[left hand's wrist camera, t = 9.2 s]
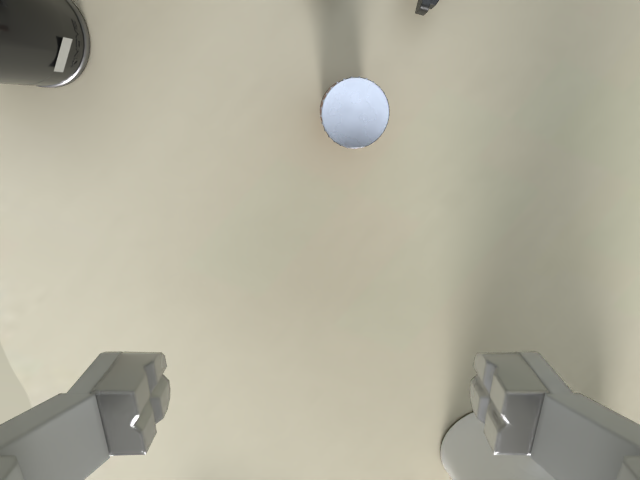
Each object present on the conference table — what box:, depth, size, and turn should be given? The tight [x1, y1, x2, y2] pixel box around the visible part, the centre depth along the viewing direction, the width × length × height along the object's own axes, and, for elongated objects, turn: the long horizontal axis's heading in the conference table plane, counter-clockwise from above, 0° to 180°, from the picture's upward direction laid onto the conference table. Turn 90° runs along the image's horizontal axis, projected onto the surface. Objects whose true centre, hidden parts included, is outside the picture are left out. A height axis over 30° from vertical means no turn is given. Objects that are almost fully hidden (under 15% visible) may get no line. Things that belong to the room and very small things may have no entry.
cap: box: [320, 77, 389, 149], centre depth 24 cm, size 4×4×2 cm
